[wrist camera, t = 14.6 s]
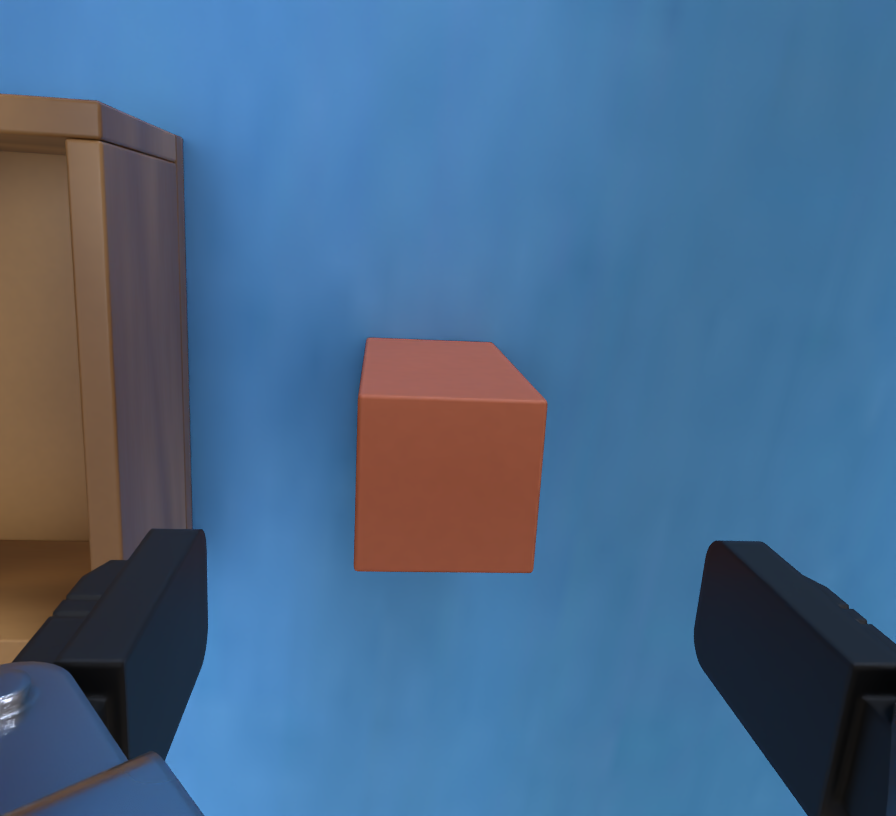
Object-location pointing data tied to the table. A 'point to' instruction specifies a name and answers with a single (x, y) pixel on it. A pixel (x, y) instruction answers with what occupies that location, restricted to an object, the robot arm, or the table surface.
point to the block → (446, 459)
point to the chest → (87, 348)
